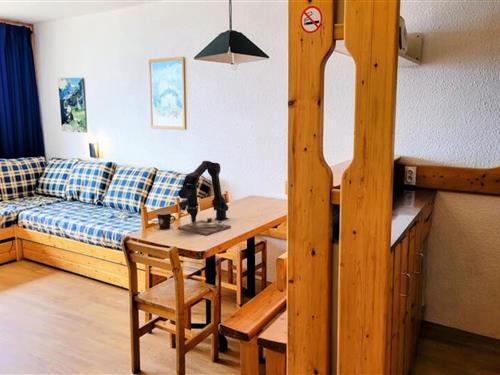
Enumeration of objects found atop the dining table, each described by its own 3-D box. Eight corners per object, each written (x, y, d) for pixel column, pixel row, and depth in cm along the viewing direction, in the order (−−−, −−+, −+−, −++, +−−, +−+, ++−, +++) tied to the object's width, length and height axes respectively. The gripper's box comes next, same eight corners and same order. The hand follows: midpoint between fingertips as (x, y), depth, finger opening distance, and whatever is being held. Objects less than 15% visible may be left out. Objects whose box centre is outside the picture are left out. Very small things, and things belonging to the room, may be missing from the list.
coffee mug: (155, 228, 280) (154, 213, 278) (167, 225, 286) (166, 210, 284) (164, 231, 271) (163, 216, 270) (176, 229, 277) (175, 213, 275)
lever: (223, 224, 275) (223, 211, 273) (223, 226, 270) (223, 212, 269) (191, 226, 273) (191, 212, 272) (191, 228, 269) (190, 214, 267)
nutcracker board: (201, 222, 292) (201, 215, 292) (230, 228, 276) (230, 221, 275) (177, 229, 277) (177, 222, 276) (206, 235, 260) (206, 228, 259)
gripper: (180, 193, 276) (181, 217, 279) (177, 199, 258) (179, 225, 261) (198, 192, 277) (199, 216, 280) (197, 198, 259) (198, 224, 262)
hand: (193, 220), depth 270 cm, fingers open, 8 cm apart
